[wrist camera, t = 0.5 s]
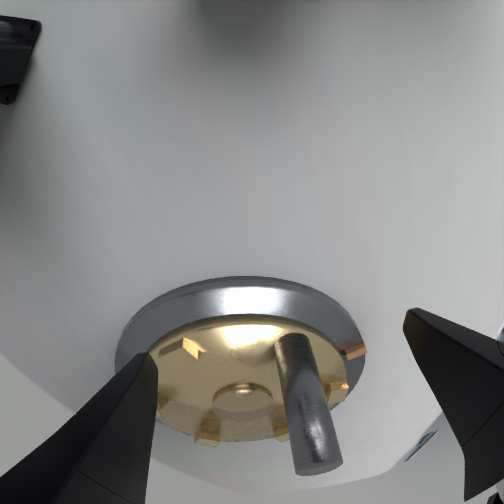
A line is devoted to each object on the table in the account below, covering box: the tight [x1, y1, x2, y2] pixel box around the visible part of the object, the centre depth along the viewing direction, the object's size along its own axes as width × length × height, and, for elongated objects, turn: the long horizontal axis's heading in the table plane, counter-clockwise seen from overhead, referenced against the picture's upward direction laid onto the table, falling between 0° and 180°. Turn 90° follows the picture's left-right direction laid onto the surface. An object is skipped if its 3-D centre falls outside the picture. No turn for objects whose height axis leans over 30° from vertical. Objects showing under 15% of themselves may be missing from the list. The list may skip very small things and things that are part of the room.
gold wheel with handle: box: [146, 313, 349, 476], centre depth 25 cm, size 21×21×12 cm
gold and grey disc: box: [115, 276, 367, 424], centre depth 31 cm, size 26×26×2 cm
